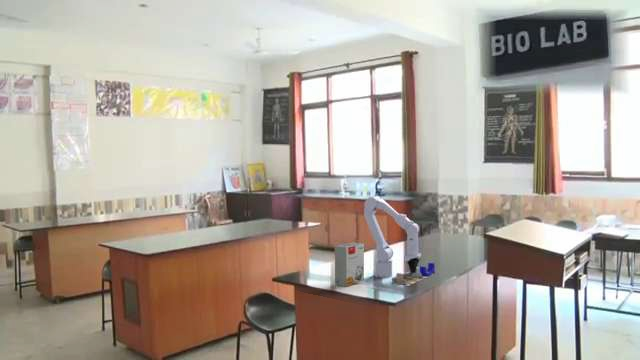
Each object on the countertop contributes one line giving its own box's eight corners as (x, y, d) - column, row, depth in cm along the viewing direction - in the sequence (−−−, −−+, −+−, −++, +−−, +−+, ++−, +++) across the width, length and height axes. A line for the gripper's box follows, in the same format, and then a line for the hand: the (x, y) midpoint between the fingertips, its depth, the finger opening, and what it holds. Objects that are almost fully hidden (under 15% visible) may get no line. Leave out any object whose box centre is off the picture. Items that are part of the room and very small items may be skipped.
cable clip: (427, 278, 263) (427, 267, 263) (419, 277, 266) (419, 266, 266) (437, 274, 273) (437, 263, 273) (429, 273, 276) (429, 262, 275)
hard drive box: (346, 287, 248) (345, 247, 247) (334, 285, 253) (333, 246, 252) (364, 281, 260) (364, 243, 259) (353, 279, 265) (352, 241, 264)
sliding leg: (419, 278, 259) (419, 268, 259) (411, 277, 262) (411, 267, 262) (422, 277, 262) (422, 267, 261) (414, 275, 265) (414, 266, 264)
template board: (407, 287, 245) (407, 275, 245) (390, 284, 252) (390, 273, 251) (428, 278, 262) (428, 267, 262) (411, 276, 269) (411, 265, 268)
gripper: (412, 249, 251) (413, 276, 252) (426, 245, 263) (426, 270, 263) (400, 248, 256) (400, 274, 256) (414, 244, 267) (414, 269, 268)
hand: (413, 272), depth 260 cm, fingers closed
